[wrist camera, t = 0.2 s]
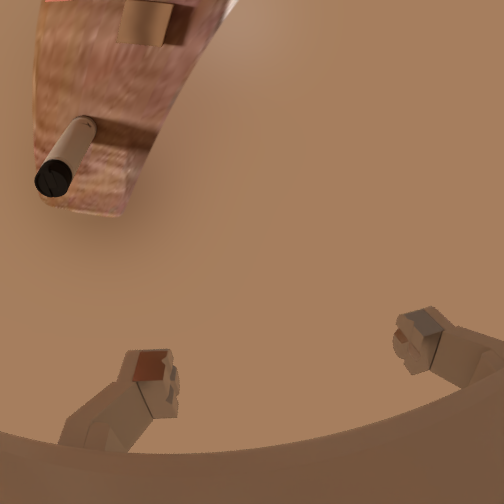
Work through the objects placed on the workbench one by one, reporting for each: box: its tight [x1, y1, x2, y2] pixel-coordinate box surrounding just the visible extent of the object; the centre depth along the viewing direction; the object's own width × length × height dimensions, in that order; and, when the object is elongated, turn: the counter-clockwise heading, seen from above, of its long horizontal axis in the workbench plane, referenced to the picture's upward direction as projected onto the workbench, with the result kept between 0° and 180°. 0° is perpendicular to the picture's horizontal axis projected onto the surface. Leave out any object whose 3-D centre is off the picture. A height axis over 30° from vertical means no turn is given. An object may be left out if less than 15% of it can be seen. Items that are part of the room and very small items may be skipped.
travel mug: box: [35, 116, 97, 197], centre depth 46 cm, size 6×7×20 cm
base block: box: [116, 0, 175, 47], centre depth 38 cm, size 8×8×4 cm
